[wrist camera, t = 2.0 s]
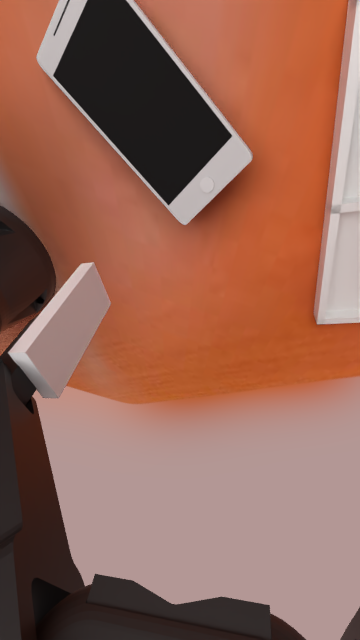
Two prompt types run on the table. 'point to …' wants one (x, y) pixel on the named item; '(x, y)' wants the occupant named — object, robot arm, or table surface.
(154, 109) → the smartphone
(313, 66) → the table surface
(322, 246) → the dock
